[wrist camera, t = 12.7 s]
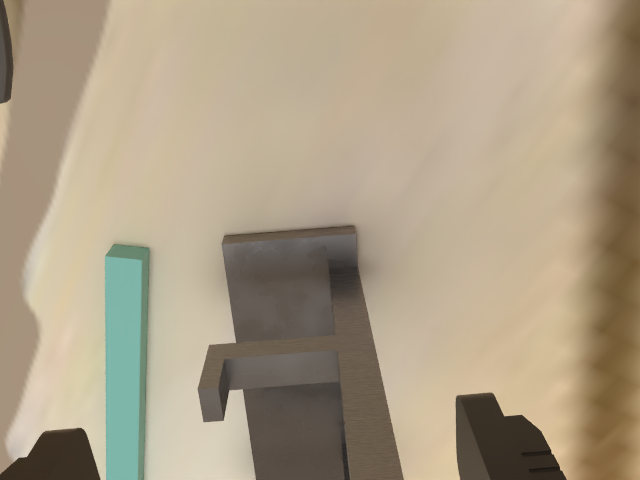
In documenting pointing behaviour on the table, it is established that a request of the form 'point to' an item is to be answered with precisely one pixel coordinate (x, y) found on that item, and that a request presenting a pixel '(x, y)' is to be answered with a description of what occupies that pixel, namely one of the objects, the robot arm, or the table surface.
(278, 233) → the hook rack
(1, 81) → the dark grey elongated piece
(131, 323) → the teal rail
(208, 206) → the table surface
